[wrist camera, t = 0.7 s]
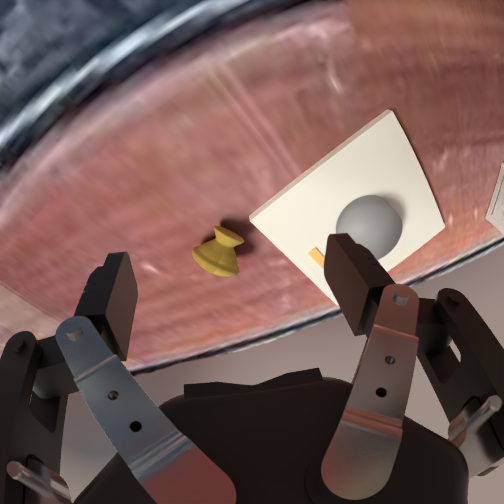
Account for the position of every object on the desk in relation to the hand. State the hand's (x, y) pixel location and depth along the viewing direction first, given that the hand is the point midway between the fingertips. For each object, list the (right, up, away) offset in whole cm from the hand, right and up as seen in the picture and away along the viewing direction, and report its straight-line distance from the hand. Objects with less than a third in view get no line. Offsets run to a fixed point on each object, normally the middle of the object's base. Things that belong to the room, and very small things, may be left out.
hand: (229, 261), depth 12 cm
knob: (-3, +2, +21) cm, 21 cm away
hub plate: (+13, +4, +21) cm, 25 cm away
